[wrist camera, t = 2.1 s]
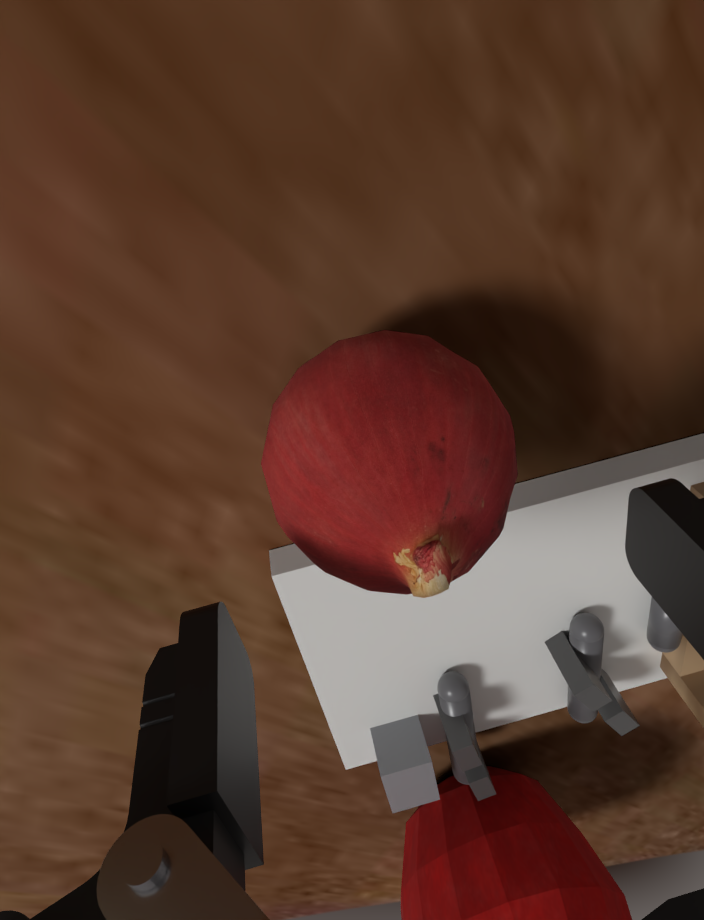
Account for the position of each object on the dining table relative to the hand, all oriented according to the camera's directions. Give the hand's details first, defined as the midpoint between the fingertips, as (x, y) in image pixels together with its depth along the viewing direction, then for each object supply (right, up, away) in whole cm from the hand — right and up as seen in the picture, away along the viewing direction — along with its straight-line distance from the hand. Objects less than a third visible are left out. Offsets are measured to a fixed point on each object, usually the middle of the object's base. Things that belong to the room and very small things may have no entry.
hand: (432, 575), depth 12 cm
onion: (-1, +4, +6) cm, 7 cm away
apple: (+4, -14, +19) cm, 24 cm away
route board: (+9, -3, +13) cm, 16 cm away
